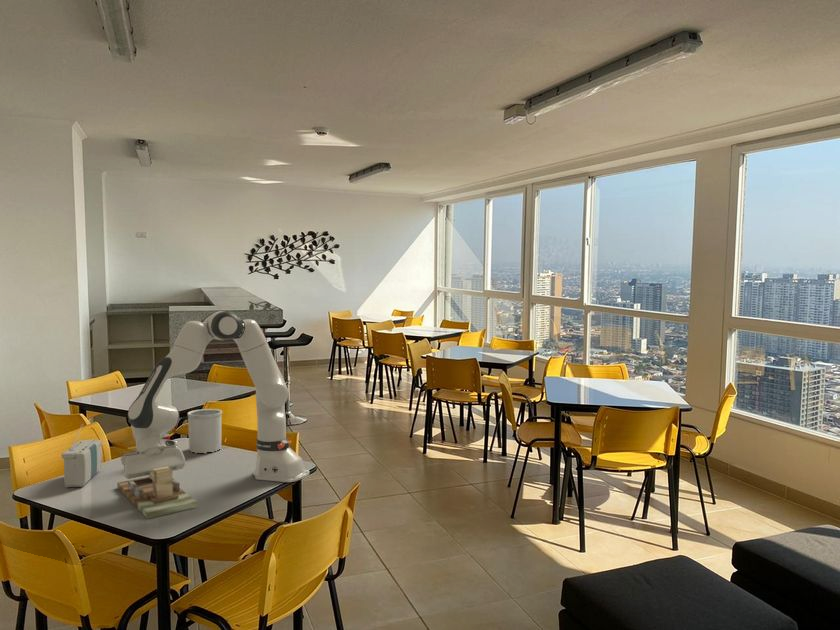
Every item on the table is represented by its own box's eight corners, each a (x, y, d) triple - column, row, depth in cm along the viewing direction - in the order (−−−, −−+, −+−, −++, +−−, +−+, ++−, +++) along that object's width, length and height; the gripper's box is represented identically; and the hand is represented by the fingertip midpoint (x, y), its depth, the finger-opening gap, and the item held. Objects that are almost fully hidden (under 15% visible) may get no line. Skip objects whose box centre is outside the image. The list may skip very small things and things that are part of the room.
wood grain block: (147, 496, 209) (146, 468, 208) (170, 491, 214) (170, 464, 213) (154, 503, 203) (153, 474, 202) (178, 498, 208) (178, 470, 207)
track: (117, 487, 223) (117, 474, 223) (162, 479, 234) (162, 466, 234) (147, 518, 195) (147, 503, 195) (197, 507, 206) (196, 492, 205)
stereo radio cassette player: (85, 488, 223) (84, 434, 222) (61, 489, 221) (59, 435, 220) (103, 470, 243) (102, 421, 242) (80, 471, 242) (80, 422, 241)
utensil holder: (184, 448, 277) (183, 410, 276) (216, 443, 285) (216, 407, 284) (192, 456, 265) (192, 416, 264) (226, 451, 273) (226, 412, 272)
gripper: (121, 449, 209) (129, 484, 202) (181, 440, 222) (191, 473, 215) (118, 459, 213) (126, 494, 206) (177, 449, 226) (186, 482, 219)
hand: (159, 483), depth 211 cm, fingers closed, pressing on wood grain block
